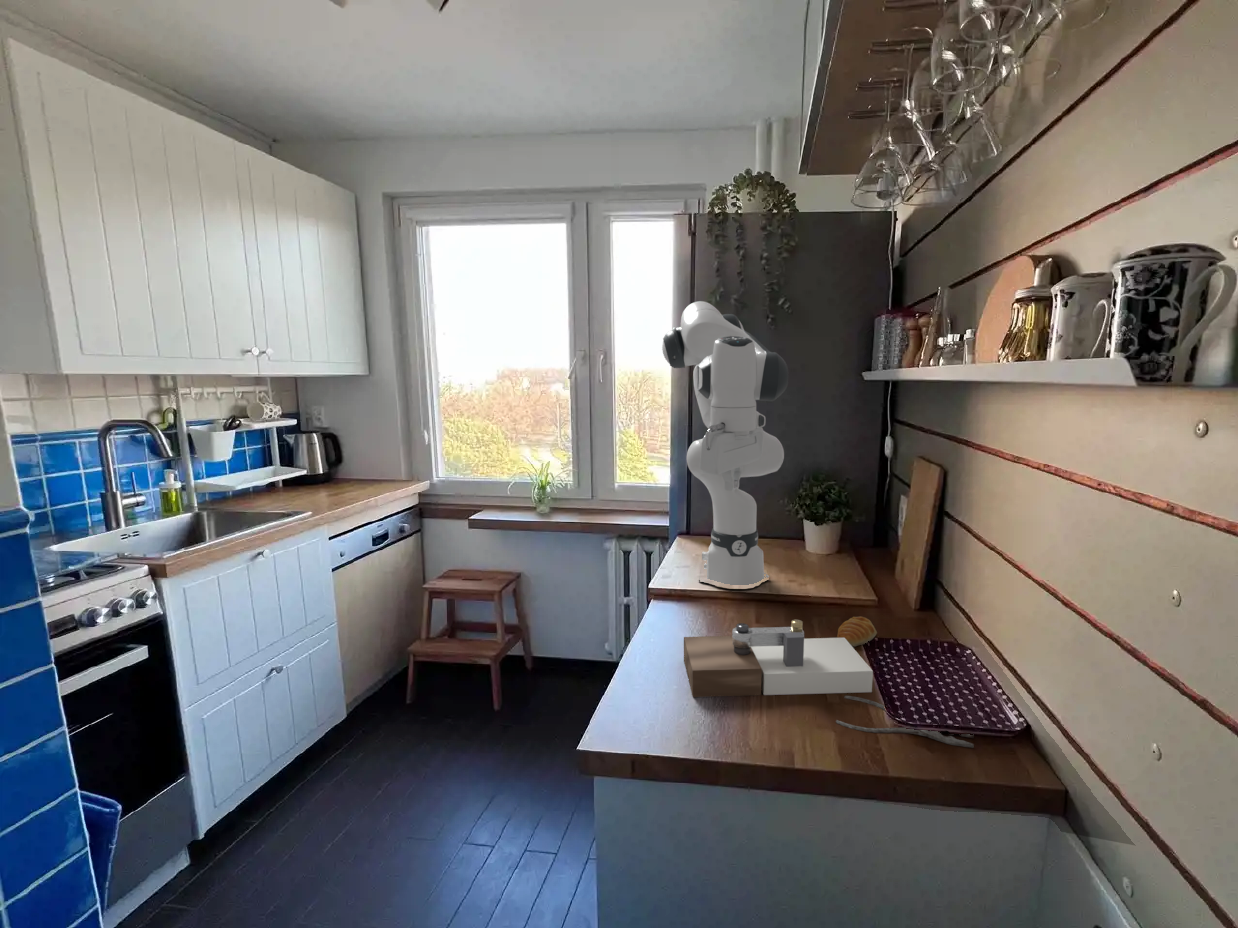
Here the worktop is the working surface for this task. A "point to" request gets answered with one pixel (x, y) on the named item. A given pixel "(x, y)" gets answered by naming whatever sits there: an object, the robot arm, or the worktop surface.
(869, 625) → the pastry
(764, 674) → the door panel
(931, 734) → the pliers
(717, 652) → the jamb block
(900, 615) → the worktop surface
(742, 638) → the lock bar
